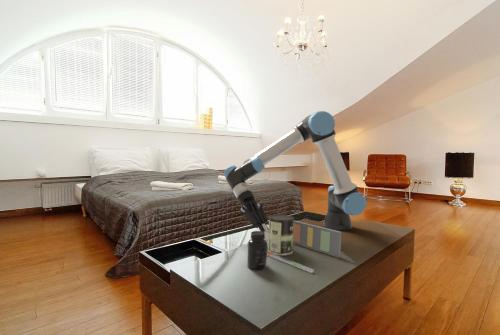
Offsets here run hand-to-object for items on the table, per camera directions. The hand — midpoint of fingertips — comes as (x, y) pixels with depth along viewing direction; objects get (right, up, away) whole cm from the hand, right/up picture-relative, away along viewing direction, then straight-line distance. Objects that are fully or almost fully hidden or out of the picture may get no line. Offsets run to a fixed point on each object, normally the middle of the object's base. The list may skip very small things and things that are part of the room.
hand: (269, 238), depth 109 cm
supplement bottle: (-6, -5, -19) cm, 21 cm away
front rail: (+4, -5, -14) cm, 15 cm away
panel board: (+17, -4, 0) cm, 18 cm away
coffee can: (+4, -4, -4) cm, 7 cm away
